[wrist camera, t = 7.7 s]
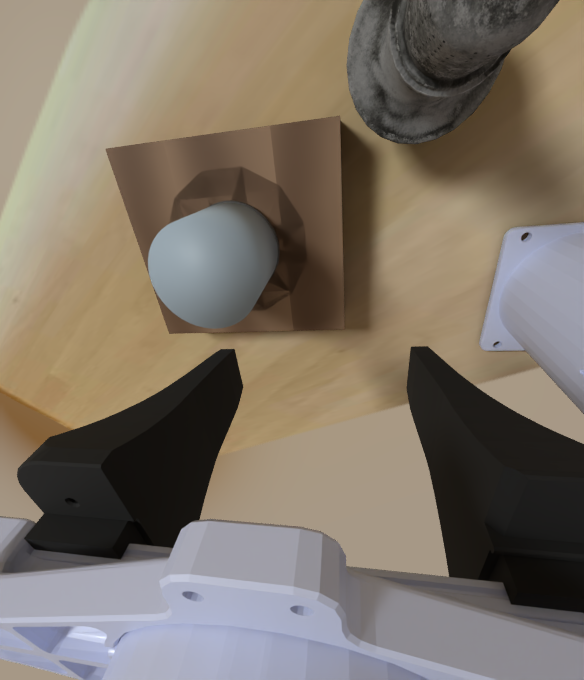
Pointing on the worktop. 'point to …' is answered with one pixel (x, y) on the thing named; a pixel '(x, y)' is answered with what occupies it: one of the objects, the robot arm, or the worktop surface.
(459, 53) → the grey flared cylinder
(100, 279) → the worktop surface
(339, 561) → the robot arm
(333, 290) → the board
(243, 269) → the peg
